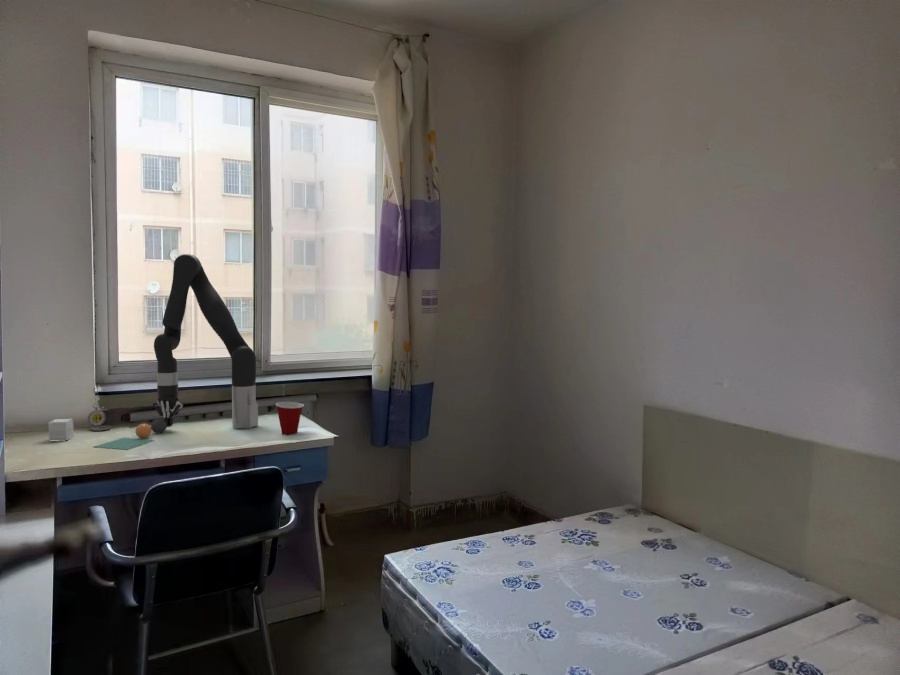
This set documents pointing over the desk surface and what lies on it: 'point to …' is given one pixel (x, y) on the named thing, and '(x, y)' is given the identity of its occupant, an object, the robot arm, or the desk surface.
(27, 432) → the desk surface
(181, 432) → the desk surface
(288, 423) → the plastic cup
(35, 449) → the desk surface
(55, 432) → the skincare box
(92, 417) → the pocket watch
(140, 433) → the terracotta ball
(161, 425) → the black ball
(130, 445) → the green mark
